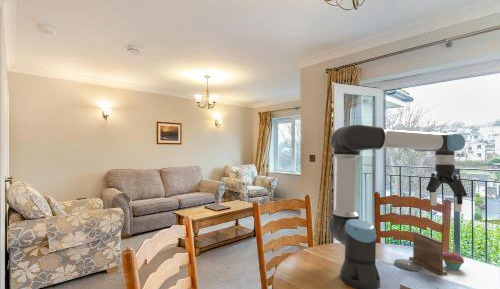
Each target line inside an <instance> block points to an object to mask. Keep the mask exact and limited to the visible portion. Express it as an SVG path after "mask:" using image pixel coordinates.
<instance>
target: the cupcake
mask: <svg viewBox="0 0 500 289" xmlns="http://www.w3.org/2000/svg"><path fill="white" fill-rule="evenodd" d="M455 250H456V244H455V243H453V247H452V251H445V252H443V263H444V264H445V267H446V268H447V269H449V270H451V271H452V270H453V271H460V268H461V266H462V265H463V264H464V263H465V261H464V258H463V257H462V255H460V254H459V253H456V252H455Z"/></svg>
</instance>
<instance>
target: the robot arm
mask: <svg viewBox="0 0 500 289" xmlns="http://www.w3.org/2000/svg"><path fill="white" fill-rule="evenodd" d="M465 145H466V139H465V137H464V135H462V134H461V133H457V132H455V133H454V132H452V131H439V132H427V131H426V132H423V131H411V130H410V131H408V130H397V129H396V130H395V129H394V130H393V129H384V127H381V126H373V125H372V126H371V125H365V124H352V125H348V126H342V127H339V128H338V129H336V130H334V132H332V134H331V136H330V146H331V147H332V148H333V157H335V159H336V186H335V187H336V188H335V209H334V210H333V211H332V212H331V213H332V214H331V218H330V219H329V221H328V231H329V233H330V234H331V236H332V237H333V238H334V239H335V240H336V241H337V242H339V243H341V244H342V245H343V246H344V260H343V262H342V265H341V268H340V271H339V278H340V280H341V281H342V282H343V283H345V284H346V285H349V286H351V287H353V288H356V289H379V288H380V287H381V277H380V275H379V271H378V268H377V264H376V259H377V258H376V255H377V254H376V252H377V250H376V246H377V244H376V243H377V233H376V232H377V230H376V228H375V226H374V224H372V223H371V222H368V221H365V220H363V219H360V216H359V213H358V212H357V210H356V197H357V196H356V194H357V193H356V191H357V186H356V185H357V159H359V157H360V156H361V151H367V150H377V151H378V150H381V149H383V148H384V149H385V148H388V149H389V148H390V149H402V150H403V149H405V150H406V149H407V150H414V151H415V152H435V154H434V156H435V158H434V160H435V161H434V163H435V166H434V167H435V168H434V169H435V172H431V175H430V179H429V181H428V183H427V186H426V191H429V198H430V206H434V207H435V206H438V205H437V204H438V202H437V201H438V199H437V198H438V193H437V190H438V189H439V187H440V186H441V185H442V184H447V185H448V186H449V187H450V189H451V191H452V192H453V194H454V212H462V205H463V198H464V197H468V193H467V191H466V189H465V188H464V187H465V186H464V185H463V183H462V182H463V181H462V180H461V175H459V174H454V173H455V172H456V168H455V167H456V166H455V165H454V164H455V162H456V161H455V157H456V156H455V152H456V151H457V152H459V151H461V150H463V148H464V147H465Z"/></svg>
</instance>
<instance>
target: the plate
mask: <svg viewBox="0 0 500 289" xmlns="http://www.w3.org/2000/svg"><path fill="white" fill-rule="evenodd" d="M394 265H395V266H396V267H398V266H399V267H398V268H400V267H401V268H400V269H402V268H404V269H403V270H405V269H408V270H407V271H410V270H413V272H419V271H422V268H423V267H422V266H421V265H420V264H419V263H416V262H414V261H411V260H410V259H404V258H397V259H394Z"/></svg>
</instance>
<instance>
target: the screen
mask: <svg viewBox="0 0 500 289" xmlns="http://www.w3.org/2000/svg"><path fill="white" fill-rule="evenodd" d="M412 236H413V237H412V238H413V244H412V246H413V248H412V249H413V251H412V252H413V253H412V254H413V255H412V256H409V257H408V258H409V259H408V260H411V261H414V262H416V263H419V264H420V265H421V266H422V268H424V269H426V270H428V271H429V272H431V273H433V274H434V275H436V276H442V275H443V276H447V275H448V271H446V270H444V260H443V253H444V252H443V251H444V241H442V240H438V239H436V238H434V237H430V236H429V235H425V234H423V233H421V232H418V231H413V235H412Z"/></svg>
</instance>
